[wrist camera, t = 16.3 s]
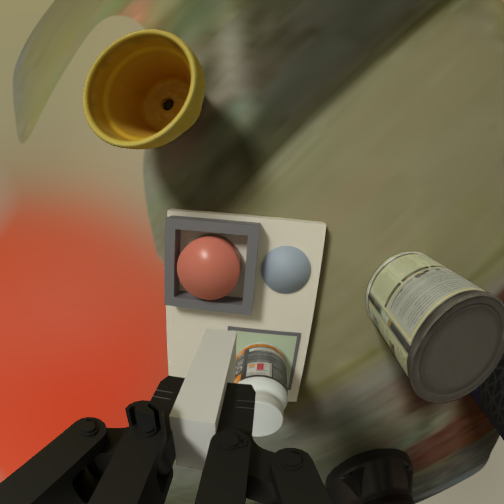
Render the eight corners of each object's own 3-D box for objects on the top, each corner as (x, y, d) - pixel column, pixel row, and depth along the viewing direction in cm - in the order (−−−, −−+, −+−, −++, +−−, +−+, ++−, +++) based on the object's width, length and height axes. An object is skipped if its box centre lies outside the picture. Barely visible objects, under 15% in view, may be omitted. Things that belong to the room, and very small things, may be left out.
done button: (239, 293, 33) (236, 303, 31) (183, 287, 33) (176, 295, 31) (243, 236, 32) (241, 242, 29) (184, 231, 32) (177, 236, 30)
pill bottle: (232, 341, 35) (219, 397, 25) (284, 338, 34) (288, 394, 24) (238, 381, 36) (228, 440, 26) (287, 379, 35) (290, 439, 26)
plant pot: (111, 127, 31) (61, 116, 22) (160, 49, 29) (125, 14, 20) (184, 171, 32) (150, 171, 23) (238, 88, 30) (224, 56, 20)
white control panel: (295, 394, 38) (297, 412, 34) (172, 380, 39) (165, 396, 35) (324, 222, 33) (330, 227, 29) (171, 208, 33) (161, 212, 30)
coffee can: (456, 280, 33) (525, 329, 19) (405, 346, 35) (452, 416, 22) (402, 231, 32) (472, 267, 19) (347, 305, 35) (384, 377, 21)
